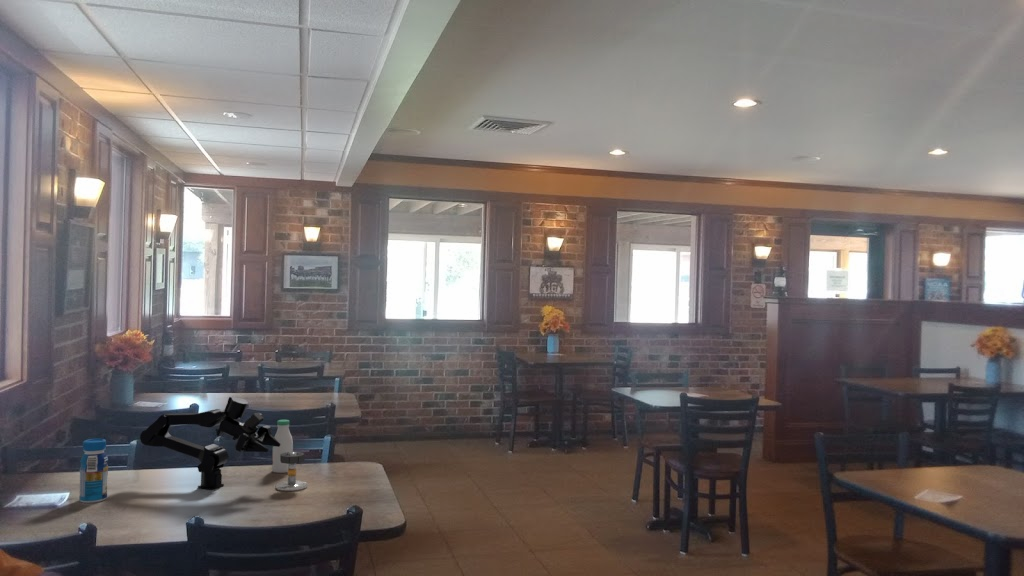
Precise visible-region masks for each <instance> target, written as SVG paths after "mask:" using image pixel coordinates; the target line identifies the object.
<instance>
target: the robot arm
mask: <svg viewBox="0 0 1024 576" xmlns="http://www.w3.org/2000/svg"><path fill="white" fill-rule="evenodd" d="M248 404H249V402H248V400H246V399H244V398H242V397H240V398H239V397H236V396H233V395H231V396H229V397H228V399H227V403H226V406H225V408H224V409H220V408H216V409H212V410H206V411H201V412H187V413H186V412H185V413H181V412H180V413H172V412H168V413H164V414H161V415H160V416H159V417H158V418H157V419H156V420H155V421H154V422H153V423H151V424H150V425H149V426H148V427H147V428H146V429H145V430H143V431H141V433H140V436H139V440H140V442H141V444H142V445H144V446H147V447H157V448H159V447H162V448H166V449H170V450H171V451H175V452H178V453H180V454H184V455H186V456H190V457H192V458H194V459H196V460H198V461H199V462H200V463H199V464H198V465H197V471H198V472H199V473H200V474H201V475H200V485H198V486H197V488H198V489H203V490H215V489H218V488H220V487H223V486H225V484H224V483H222V481H223V480H222V479H223V478H222V477H223V474H222V468H224V467H225V464H226V463H227V462H228V460H229V454H228V451H227V450H226V449H225V448H224V446H219V445H217V444H215V443H211V444H208V445H206V446H202V445H200V444H196V443H194V442H191V441H189V440H186V439H183V438H179V437H177V436H173V435H171V433H169V430H170V428H171V427H172V426H174V425H175V426H176V425H198V426H200V427H204V428H213V427H216V426H218V428H215V433H216V436H217V437H219V436H223V435H224V434H226V435H228V436H230V437H232V440H234V441H236V440H237V441H236V443H235V445H234V448H235V450H236V451H238V452H240V453H242V452H244V453H246V452H248V453H253V452H254V453H258V452H259V453H267V452H269V449H270V448H268V447H267V446H269V447H273V446H277V447H279V446H280V443H279V442H278V441H277V440H276V439H275V438H274V437H275V436H274V435H272V426H270V425H263V426H261V427H259V425H260V424H261V422H263V421H264V420H265V418H264V414H263V413H261V412H255V413H252V415H251V416H250V417H249V418H248V419H247V420H246V421H245V422H241V421H239V419H241V418H243V416H244V414H245V412H246V409H247V406H248Z"/></svg>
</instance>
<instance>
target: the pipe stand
mask: <svg viewBox="0 0 1024 576" xmlns="http://www.w3.org/2000/svg"><path fill="white" fill-rule="evenodd" d="M296 452H297V451H293V452H289V453H288V455H290V456H292V455H296ZM306 487H308V482H306V481H303V480H297V463H295V464H288V472H287V480H285V481H279V482H278V483H276V484H275V490H277V491H280V492H297V491H298V492H299V491H303V490H305V489H307V488H306ZM302 489H303V490H302Z"/></svg>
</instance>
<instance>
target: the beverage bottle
mask: <svg viewBox="0 0 1024 576" xmlns="http://www.w3.org/2000/svg"><path fill="white" fill-rule="evenodd" d="M106 448H107V440H106V439H104V438H91V439H86V440H84V441H83V442H82V451H83V452H84V453H83V454H82V456H81V458H80V459H79V460H80V461H79V463H80V467H79V497H78V499H79V502H80V503H83V504H92V503H94V504H95V503H100V502H102V501H105V500H106V499H107V497H108V473H109V465H108V461H109V457H108V455H107V453H106V452H105V451H106V450H107V449H106Z"/></svg>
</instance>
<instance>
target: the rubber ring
mask: <svg viewBox="0 0 1024 576" xmlns="http://www.w3.org/2000/svg"><path fill="white" fill-rule="evenodd" d="M295 452H296V455H292V456H290V455H288V453H289V452H285V453H282V454H280V461H281V463H286V464H295V463H296V464H301V463H303V462H305V453H304V452H302V451H295Z"/></svg>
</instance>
